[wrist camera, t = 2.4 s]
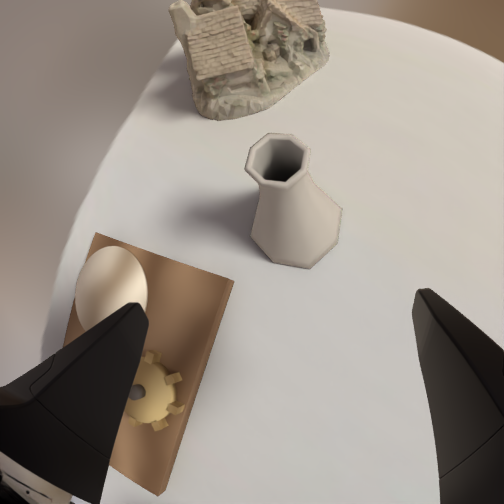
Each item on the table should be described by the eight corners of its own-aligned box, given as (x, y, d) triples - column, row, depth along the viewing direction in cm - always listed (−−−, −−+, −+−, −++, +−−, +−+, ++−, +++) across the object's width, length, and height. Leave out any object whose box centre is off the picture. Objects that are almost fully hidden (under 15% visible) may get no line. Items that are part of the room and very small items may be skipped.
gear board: (234, 281, 23) (218, 273, 20) (165, 490, 20) (146, 506, 16) (105, 236, 28) (81, 225, 24) (61, 415, 24) (39, 419, 21)
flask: (236, 242, 24) (181, 191, 15) (279, 170, 25) (252, 91, 15) (315, 285, 22) (309, 257, 12) (356, 206, 22) (373, 131, 13)
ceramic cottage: (180, 124, 28) (116, 15, 14) (213, 40, 32) (182, -45, 18) (332, 124, 25) (337, -15, 11) (327, 37, 29) (323, -58, 15)
